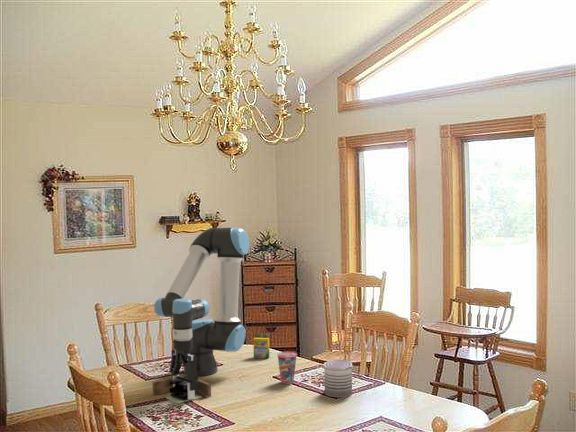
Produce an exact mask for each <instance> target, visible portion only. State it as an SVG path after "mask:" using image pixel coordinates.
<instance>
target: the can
mask: <svg viewBox="0 0 576 432" xmlns="http://www.w3.org/2000/svg"><path fill="white" fill-rule="evenodd" d="M352 367H353V362H352V361H350V360H346V359H331V360H328V361H326V362H324V363H323V368H324V371H323V372H324V373H323V374H324V375H323V376H324V377H323V378H324V395H326V396H328V397H331V398H347V397H349V396H351V395H353V385H352V384H353V377H352V375H353V372H352V371H353V368H352Z"/></svg>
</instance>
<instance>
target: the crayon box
mask: <svg viewBox="0 0 576 432" xmlns="http://www.w3.org/2000/svg"><path fill="white" fill-rule="evenodd" d="M253 359H264V360H265V359H266V360H267V359H270V333H254V337H253Z"/></svg>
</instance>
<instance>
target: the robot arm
mask: <svg viewBox="0 0 576 432" xmlns="http://www.w3.org/2000/svg"><path fill="white" fill-rule="evenodd" d="M249 249H250V239H249V235H248V234H247V232H246V231H245V229H243V228H241V227H240V228H239V227H210V228H207V229H206V230H204V231H202V232H201V233H200V234H198V236H197V237H196V238H195V239H194V240H193V241H192V242H191V245H190V246H189V248H188V255H187V256H186V258H185V260H184V261H183V264H182V266H181V267H180V269H179V271H178V273H177V275H176V277H175V278H174V280H173V282H172V284H171V285H170V287H169V289H168V291H167V293H166V295H165V297H159V298H158V299H156V300H155V303H154V307H153V309H154V312H155V314H156V316H158V317H162V318H163V317H164V318H172V339H173V340H172V346H173V347H172V348H173V349H172V350H171V359H170V364H169V365H170V366H169V373H170V374H171V375H172V378H173V380H174V379H177V376H181V375H180V374H181V372H180V371H181V369H182V367H183V371H182V372H183V373H184V375H185V376H186V375H187V377H188V382H187V390H188V399H192V398H195V381H198V379H199V377H202V376H203V377H204V376H209V375H213V374H216V373H217V372H218V364H217V361H216V359H215V358H216V357H215V355H214V351H221V352H227V353H231V352H233V353H235V352H238V351H240V349H241V348H242V347H243V345H244V344H245V341H246V334H247V333H246V328H245V327H244V325H243V324H241V322H242V320H241V319H240V318H239V315H238V314H239V295H240V294H239V291H240V270H241V267H240V266H241V262H242V261H243V260H244V259H245V258H244V257H245V255H247V254H248V253H249ZM214 254H217V259H218V260H219V262H220V266H219V267H220V269H219V287H218V288H219V289H218V291H219V292H218V309H217V311H218V312H217V313H218V314H217V317H216V318H214V321H213V319H212V318H204V317H206V316H208V314H209V312H210V305H209V303H208V301H207V300H205V299H203V298H197V299H195V300H194V299H191V298H187V295H188V293H189V292H190V289H191V287H192V285H193V283H194V281H195V279H196V277H197V276H198V273H199V272H200V270H201V268H202V266H203V264H204V263H205V261H207V260H208V259H209V258H210V256H211V255H214ZM174 386H175V384H173V387H174Z"/></svg>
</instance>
